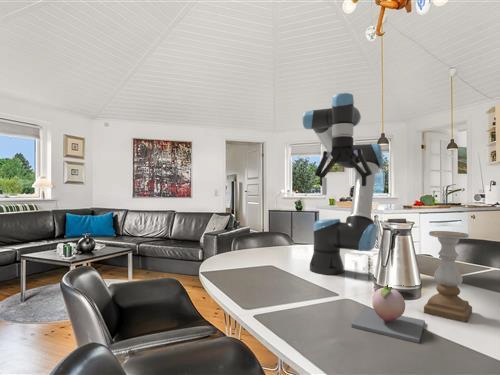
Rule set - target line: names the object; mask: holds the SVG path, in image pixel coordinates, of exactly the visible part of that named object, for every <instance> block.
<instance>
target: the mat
mask: <svg viewBox="0 0 500 375" xmlns="http://www.w3.org/2000/svg"><path fill="white" fill-rule="evenodd" d="M359 313H360V314H358V316H357V317H356V318H355V319H354V320H353V322H352V323H351V328H354V329H359V330H363V331H366V332H370V333H375V334H379V335H384V336H387V337H392V338H396V339H401V340H405V341H408V342H414V343H417V344H419V343H420V342H421V341H420V340H421V337H422V334H423V331H424V328H425V323H426V321H425V320H424V319H420V318H415V317H410V316H405V315H401V316H400V317H399V318H397V319H395V320H392V321H388V322H386V321H384V320H383V319H381V318H380V317H379V316H378V315H377V314H376V312H375V311H374V309H371V308H364V309H363V310H362V311H361V312H359Z"/></svg>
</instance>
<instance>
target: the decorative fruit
mask: <svg viewBox="0 0 500 375" xmlns="http://www.w3.org/2000/svg"><path fill="white" fill-rule="evenodd" d="M371 301H372V308H373V310H374V311H375V312H376V314H377V315H378V316H379V317H380V318H381V319H383V320H384V321H386V322H388V321H392V320H395V319H397V318H399V317H400V316H403V314H404V313H405V310H406V301H405V299H404V297H403V295H402V294H401V293H400V292H399V291H398V290H396V289H394V287H393V288H392V287H388V285H387V286H385V287H383V288H380V289H378V290H375V291H374V292H373V295H372V300H371Z"/></svg>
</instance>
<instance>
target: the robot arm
mask: <svg viewBox="0 0 500 375" xmlns="http://www.w3.org/2000/svg"><path fill="white" fill-rule="evenodd" d="M331 101H332V102H331V107H329V108H321V109H311V110H308V111H305V112H304V113H303V116H302V125H303V128H304V129H306V130H310V131H311V130H313V131H314V133H315V134H316V136H317V137H318V139H319V141H320V142H321V144H322V145H323V147H324V148H325V150H324V151H323V153H322V157H321V160H320V162H319V165H318V166H317V168H316V169H315V170H316V171H315V173H314V175H315V176H316V177H318V178H319V186H320V187H322V188H321V195H322V196H327V192H328V191H327V189H328V188H327V187H328V186H327V184H328V183H327V181H328V180H327V179H328V178H327V177H326V176H327V174H328V173H329V172H330V171H331V169H332V168H333V167H334V166H335V165H338V166H340V167H342V168H344V169H345V168H346V169H353V171H354V172H355V179H354V185H353V193H352V200H351V210H350V214H349V216H347V217H346V218H345V222H343V221H342V220H341V219H340V218H328V219H327V218H326V219H319V220H316V221H315V222H314V223H313V254H312V256H311V259H310V262H309V271H310V272H312V273H315V274H322V275H340V274H342V273H344V271H345V266H344V263H343V259H342V256H341V249H342V250H351V251H359V252H370V251H372V250H373V249H374V247H375V245H376V241H377V236H378V226H377V224H375V221H374V220H373V218H371V217H372V208H373V207H372V206H373V197H374V188H375V180H376V179H375V178H376V174H377V173H379V172H380V169H382V168H383V167H384V158H383V151H382V146H381V145H380V143H369V144H368V143H367V144H354V127H356V126H358V125H359V123H360V122H361V117H362V116H361V113H360V111H359V110H358V108H357V107H355V101H354V95H353V94H352V93H349V92H341V93H336V94H334V95H333V96H332V100H331ZM328 159H329V163H328V164H327V161H328ZM326 164H327V165H326ZM325 165H326V166H325ZM341 221H342V222H341Z"/></svg>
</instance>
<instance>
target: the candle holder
mask: <svg viewBox="0 0 500 375" xmlns="http://www.w3.org/2000/svg"><path fill="white" fill-rule="evenodd" d="M428 235H429V236H430V237H434V238H437V240H438V242H439V243H440V246H441V248H440V250H439V252H438V253H437V254H438V255H439V257H440V259H441V263H440V265H439V266H438V267H437V269H436V270H435V272H434V275H433V278H434V280H435V281H436V283H438V284H437V285H436V287H435V288H436V291H437V292H438V293H436V294H432V296H431V297H430V298H429V299H428V300H427V302H426V304H424V306H423V313H424V314H427V315H430V316H436V317H439V318H442V319H447V320H448V319H449V320H451V321H457V322H460V323H466V324H467V323H468V322H469V320H470V318H471V316H472V313H473V307H472V305H470V304H469V302H470V301H469V300H465V299H462V298H461V297H460V294H461V290H460V288H459V285H461V284H462V283H463V279H464V278H463V276H462V274H461V272H460V271H459V269H458V267H457V266H456V260H457V258H458V257H459V254H458V252H457V250H456V245H457V244H458V243H459V242H460V240H461V239H462V240H464V239H468V238H469V236H470V235H469V234H468V233H465V232H460V231H459V232H458V231H449V230H446V231H445V230H432V231H429V232H428ZM458 295H459V296H458Z"/></svg>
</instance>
